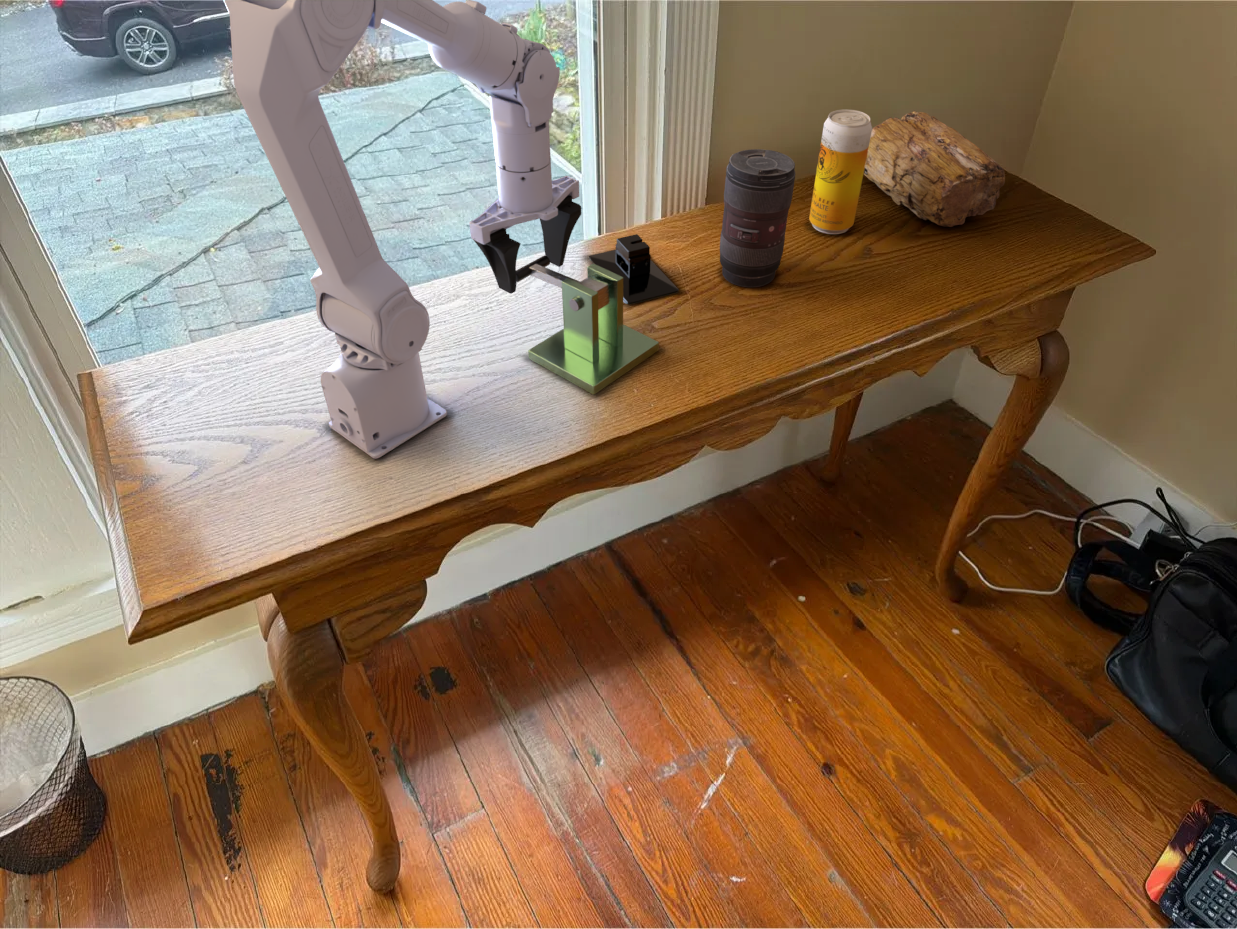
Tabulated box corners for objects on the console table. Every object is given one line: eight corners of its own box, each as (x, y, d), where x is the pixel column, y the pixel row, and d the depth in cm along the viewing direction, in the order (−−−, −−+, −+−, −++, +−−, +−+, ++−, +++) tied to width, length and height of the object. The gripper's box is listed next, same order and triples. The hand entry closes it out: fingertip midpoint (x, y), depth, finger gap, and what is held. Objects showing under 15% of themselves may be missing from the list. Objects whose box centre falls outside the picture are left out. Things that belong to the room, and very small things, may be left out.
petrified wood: (1006, 219, 125) (1016, 154, 118) (923, 253, 124) (927, 190, 116) (926, 158, 138) (930, 96, 130) (850, 188, 137) (850, 128, 129)
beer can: (800, 218, 126) (816, 111, 116) (839, 212, 127) (859, 105, 117) (820, 239, 122) (839, 129, 112) (860, 232, 123) (882, 123, 113)
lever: (512, 285, 102) (510, 265, 100) (544, 268, 104) (541, 249, 103) (587, 317, 95) (585, 297, 94) (618, 298, 98) (617, 278, 97)
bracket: (528, 358, 102) (522, 283, 95) (594, 318, 108) (592, 244, 101) (593, 395, 97) (592, 318, 90) (658, 350, 103) (661, 275, 96)
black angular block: (679, 293, 112) (681, 260, 109) (626, 306, 110) (626, 273, 107) (636, 246, 120) (637, 214, 117) (586, 258, 118) (585, 226, 115)
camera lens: (792, 283, 114) (810, 169, 103) (735, 296, 111) (747, 181, 101) (761, 253, 119) (775, 142, 109) (706, 264, 117) (715, 152, 107)
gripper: (498, 196, 87) (509, 315, 97) (598, 149, 95) (600, 263, 105) (450, 175, 91) (465, 291, 100) (551, 131, 99) (556, 243, 108)
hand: (531, 275), depth 103 cm, fingers open, 7 cm apart
